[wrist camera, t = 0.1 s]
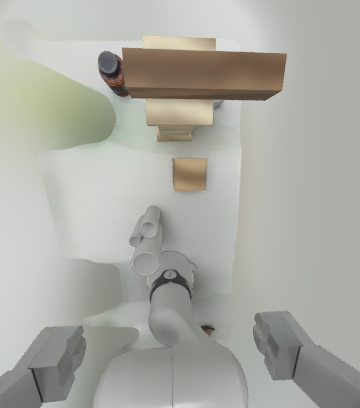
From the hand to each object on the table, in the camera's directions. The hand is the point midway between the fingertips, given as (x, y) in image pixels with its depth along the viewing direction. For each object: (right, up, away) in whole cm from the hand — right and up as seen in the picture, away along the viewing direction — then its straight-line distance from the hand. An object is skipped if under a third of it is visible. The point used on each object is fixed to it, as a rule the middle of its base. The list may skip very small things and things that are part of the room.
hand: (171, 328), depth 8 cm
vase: (-9, 0, +49) cm, 50 cm away
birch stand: (-1, +30, +42) cm, 51 cm away
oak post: (+2, +16, +46) cm, 48 cm away
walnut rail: (+3, +23, +17) cm, 29 cm away
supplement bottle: (-15, +38, +39) cm, 57 cm away
